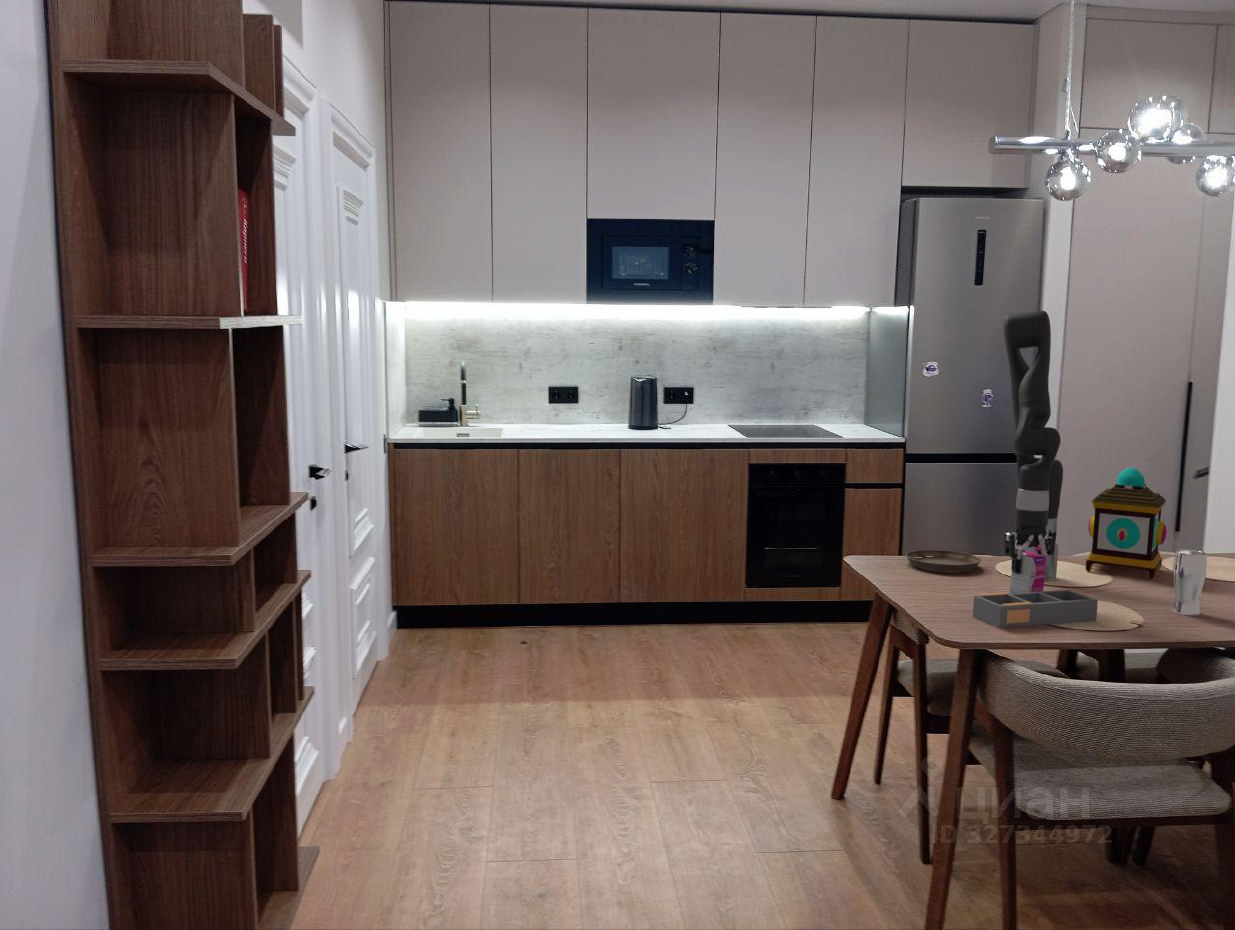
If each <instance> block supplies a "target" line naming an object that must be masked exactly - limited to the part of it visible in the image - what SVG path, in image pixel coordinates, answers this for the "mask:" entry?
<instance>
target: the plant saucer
mask: <svg viewBox="0 0 1235 930" xmlns="http://www.w3.org/2000/svg"><path fill="white" fill-rule="evenodd" d="M926 556H933V557H926ZM905 557H906V558H907V561H908V562H910V564H911V565H912V566H913V567H915V568H917V569H920V570H922V571H923V570H924V571H928V572H933V573H943V574H944V573H945V574H963V573H967V572H968V573H969V572H970V571H973V570H974V569H975V568H977V567H978V565H979V564H980V563H981V561H982V559H981V558H980V557H978V556H976V555H973V554H969V553H965V552H961V551H960V552H958V551H954V550H953V551H951V550H941V549H940V550H938V549H923V550H922V549H921V550H912V551H908V552H906V553H905ZM914 557H922V558H914Z"/></svg>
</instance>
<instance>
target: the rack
mask: <svg viewBox="0 0 1235 930" xmlns="http://www.w3.org/2000/svg"><path fill="white" fill-rule="evenodd" d="M1098 603H1099V599H1097V598H1094V597H1091V596H1087V595H1085V594H1083V593H1079V592H1076V591H1074V590H1070V589H1059V590H1057V589H1056V590H1043V591H1041V592H1026V593H1011V594H1009V593H1007V592H993V593H980V594H977V595H973V606H972V617H973V618H976V619H977V620H980V621H982V622H984V623H986V624H989V625H991V626H993V627H996V628H998V629H1004V628H1017V627H1019V628H1020V627H1029V626H1042V625H1044V626H1045V625H1058V624H1068V623H1069V624H1071V623H1083V622H1093V621H1094V622H1095V621H1097V615H1098Z"/></svg>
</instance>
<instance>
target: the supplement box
mask: <svg viewBox="0 0 1235 930" xmlns="http://www.w3.org/2000/svg"><path fill="white" fill-rule="evenodd" d="M1020 560H1021V573H1020V574H1015V573H1013V571H1012V570H1011V574H1010V583H1009V584H1010V585H1009V593H1008V594H1011V593H1026V592H1041V591H1044V588H1045V587H1044V585H1045V580H1044V577H1045V567H1046V556H1045V555H1041V554H1037V553H1034V552H1030V551H1026V552H1024V553H1023V555H1022V557H1021V559H1020Z"/></svg>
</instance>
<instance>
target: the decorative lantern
mask: <svg viewBox="0 0 1235 930" xmlns="http://www.w3.org/2000/svg"><path fill="white" fill-rule="evenodd" d="M1091 503H1092V506H1093V508H1094V515H1092V516H1091V517H1090V519H1088V534H1089V536H1090V537H1092V544H1091V545H1092V547H1091V551H1090V552H1089V554H1088V556H1087V559H1086V561H1085V570H1086V572H1088V573H1090V572H1091V571H1092V569H1093V565H1102V566H1111V567H1118V568H1124V569H1125V568H1127V569H1133V570H1134V569H1135V570H1140V571H1146V572H1147V576H1148V577H1147V578H1148V580H1149V581H1153V580H1155V579H1154V578H1155V574H1156V571H1159V570H1161V568H1162V562H1163V560H1162V556H1161V554H1160V551H1159V546H1162V545H1163V544H1164V543H1165V541H1166V539H1167V531H1168V530H1167V527H1166V524H1165V523H1164V522H1163V521H1161V517H1162V516H1161V515H1162V510H1163V507H1164V505H1166V503H1167V500H1166V499H1165V498H1164V496H1162V495H1161V493H1159V492H1153V490H1151V489H1150V487H1147V484H1146V482H1145V476H1144V475H1143V474H1142V472H1141V471H1139V469H1137V468H1135V467H1128V468H1125V469H1124V470H1122V472H1120V473H1119V474H1118V476H1117V480H1116V483H1115V484H1114V485H1113V486H1112V487H1111V488H1106V489H1104V490H1103V491H1102V492H1101V493H1099V494H1098V495H1096V496H1095V497H1094V498H1093V499H1092V500H1091Z"/></svg>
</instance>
